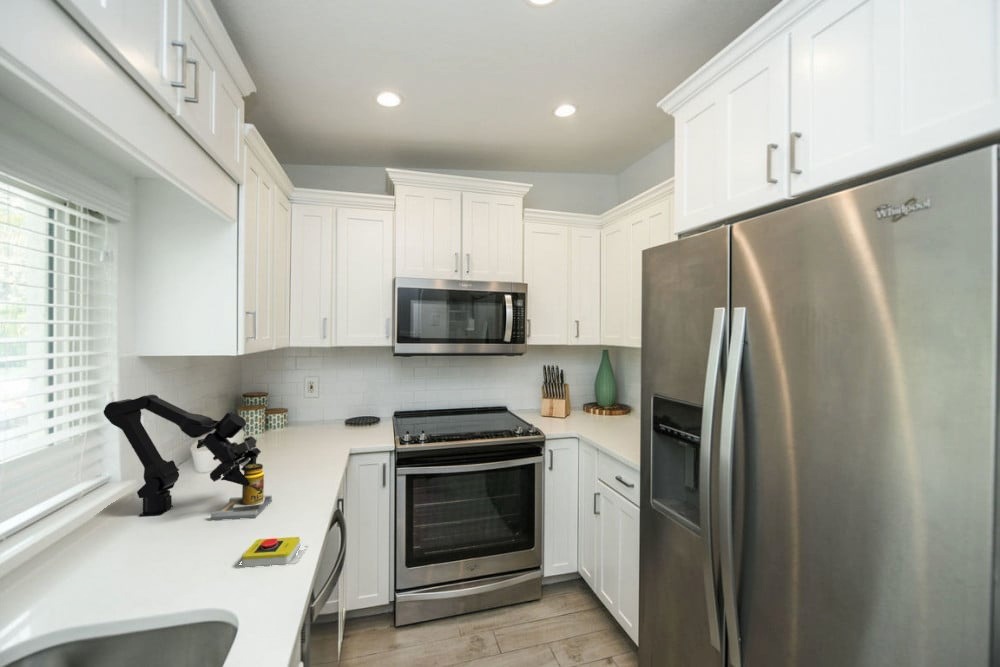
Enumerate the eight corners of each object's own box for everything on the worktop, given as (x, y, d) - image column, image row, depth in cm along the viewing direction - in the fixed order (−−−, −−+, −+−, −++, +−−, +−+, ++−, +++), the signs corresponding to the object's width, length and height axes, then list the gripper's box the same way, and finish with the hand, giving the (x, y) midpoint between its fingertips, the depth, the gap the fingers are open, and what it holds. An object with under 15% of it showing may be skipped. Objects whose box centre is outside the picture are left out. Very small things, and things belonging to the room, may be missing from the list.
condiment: (263, 504, 134) (264, 467, 134) (232, 508, 131) (233, 470, 131) (265, 496, 141) (266, 461, 141) (236, 500, 137) (237, 464, 138)
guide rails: (211, 517, 129) (211, 513, 129) (231, 501, 141) (231, 497, 141) (255, 514, 130) (255, 510, 130) (271, 498, 143) (271, 495, 143)
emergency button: (251, 534, 112) (309, 531, 114) (251, 550, 112) (309, 547, 114) (233, 552, 102) (297, 548, 104) (233, 570, 102) (297, 566, 104)
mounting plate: (210, 520, 128) (210, 516, 128) (231, 503, 141) (231, 500, 141) (255, 518, 130) (255, 514, 130) (272, 501, 143) (272, 497, 143)
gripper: (220, 438, 127) (255, 474, 127) (255, 424, 145) (286, 456, 145) (194, 463, 127) (229, 499, 127) (233, 446, 145) (264, 478, 145)
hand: (254, 481), depth 136 cm, fingers closed on condiment, 6 cm apart
